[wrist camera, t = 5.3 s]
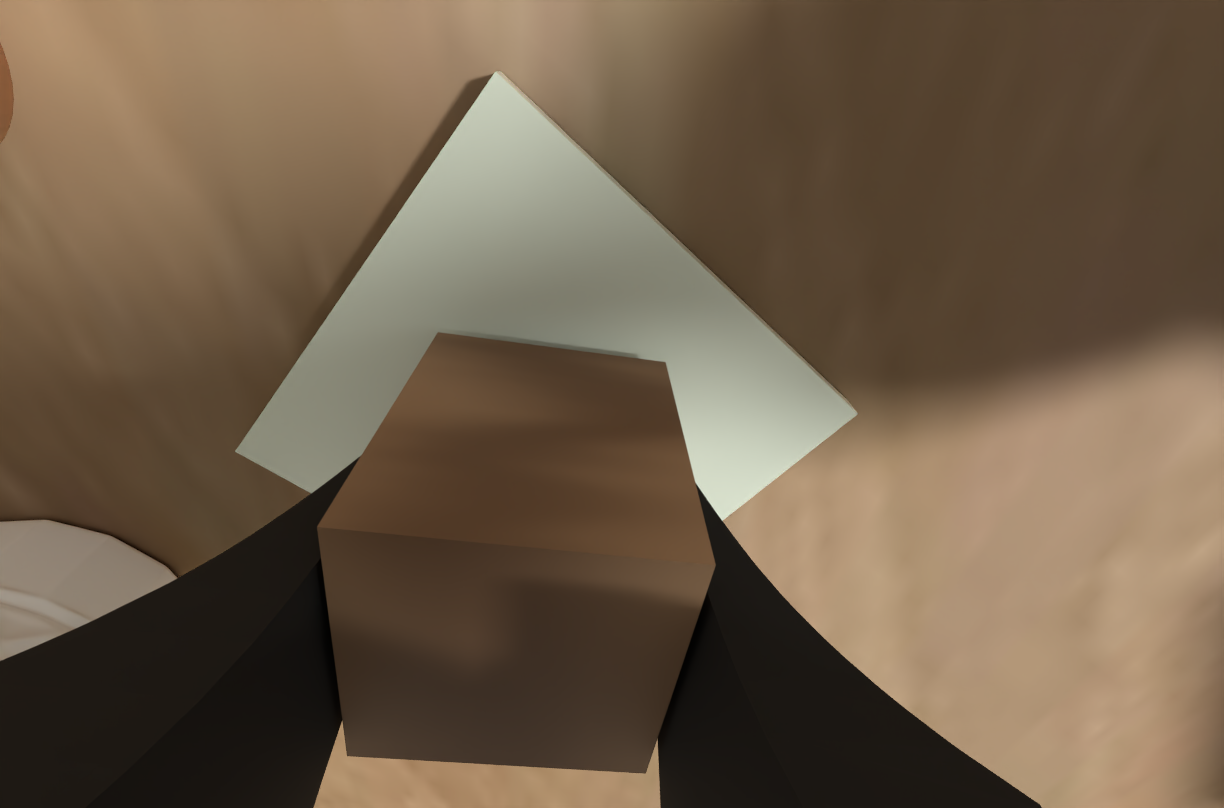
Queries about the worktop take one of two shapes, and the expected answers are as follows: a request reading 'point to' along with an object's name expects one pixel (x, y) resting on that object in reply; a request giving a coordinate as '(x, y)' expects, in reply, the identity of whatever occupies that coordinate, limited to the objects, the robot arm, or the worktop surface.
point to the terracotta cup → (5, 96)
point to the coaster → (545, 310)
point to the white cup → (65, 580)
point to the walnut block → (516, 561)
